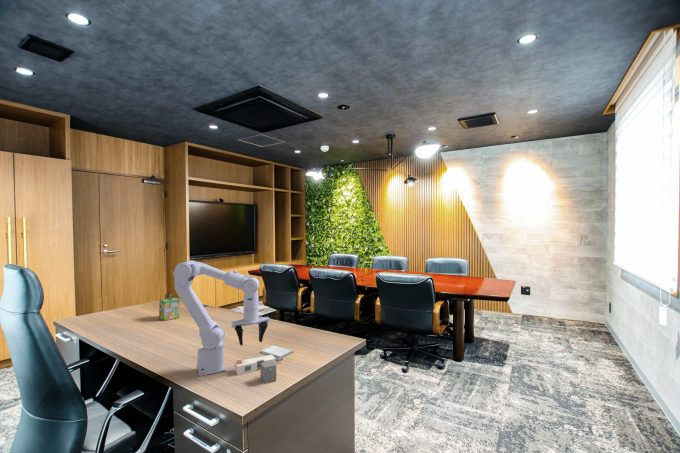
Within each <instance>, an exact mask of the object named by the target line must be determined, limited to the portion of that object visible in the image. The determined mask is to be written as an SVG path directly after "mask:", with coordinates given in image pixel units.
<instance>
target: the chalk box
mask: <svg viewBox="0 0 680 453" xmlns="http://www.w3.org/2000/svg"><path fill="white" fill-rule="evenodd" d="M158 303H159V304H158V305H159V307H158V308H159V309H158V310H159V311H158V312H159V313H158V318H159V319H160V320H161V319H162V320H161V321H163V320H166V321H170V320H169V319H172V320H176V319H175V318H180V299H178V298H176V297H173V294H172V293H169V295H168V298H163V299H160V298H159V302H158Z"/></svg>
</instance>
